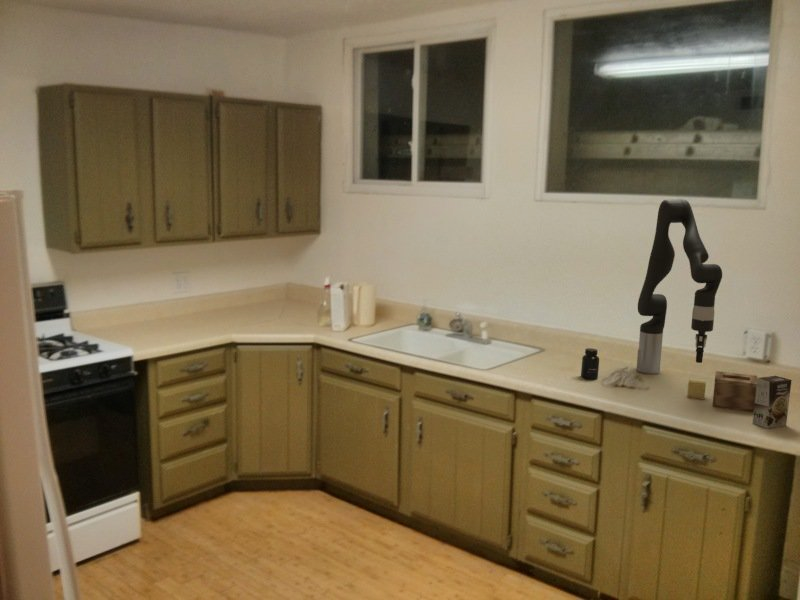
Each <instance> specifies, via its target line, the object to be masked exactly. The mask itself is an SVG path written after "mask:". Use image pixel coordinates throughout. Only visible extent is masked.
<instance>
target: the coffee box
mask: <svg viewBox="0 0 800 600" xmlns="http://www.w3.org/2000/svg"><path fill="white" fill-rule="evenodd" d="M757 379H758V380H757V389H756V397H755V406H754V412H753V416H752V424H754V425H757V426H760V427H762V428H764V429H772V428H773V429H774V427H775V428H781V427H785V426H787V422H788V421H787V420H788V414H789V413H788V411H789V405H790V397H791V388H792V379H789V378H786V377H783V376H777V375H769V376H763V377H757Z"/></svg>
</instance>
